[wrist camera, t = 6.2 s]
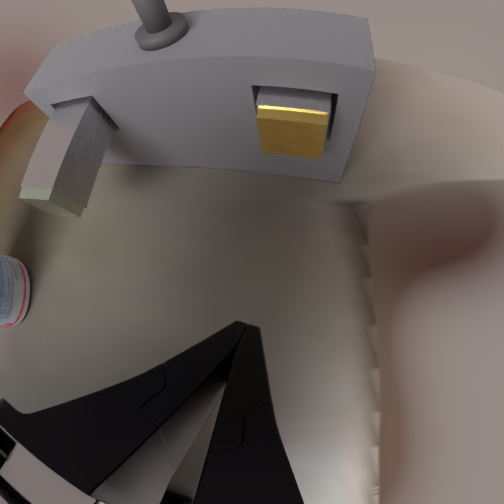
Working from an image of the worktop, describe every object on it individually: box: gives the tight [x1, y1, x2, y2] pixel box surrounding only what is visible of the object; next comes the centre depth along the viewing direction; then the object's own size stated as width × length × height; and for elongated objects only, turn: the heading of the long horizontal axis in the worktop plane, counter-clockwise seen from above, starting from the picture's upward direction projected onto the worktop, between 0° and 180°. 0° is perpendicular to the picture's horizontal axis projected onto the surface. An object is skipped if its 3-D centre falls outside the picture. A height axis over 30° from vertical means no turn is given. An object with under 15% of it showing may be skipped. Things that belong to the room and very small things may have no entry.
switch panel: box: [24, 0, 376, 183], centre depth 13 cm, size 4×18×14 cm, turn 80°
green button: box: [19, 96, 116, 218], centre depth 14 cm, size 8×3×3 cm, turn 170°
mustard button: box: [256, 86, 331, 160], centre depth 13 cm, size 8×3×3 cm, turn 170°
